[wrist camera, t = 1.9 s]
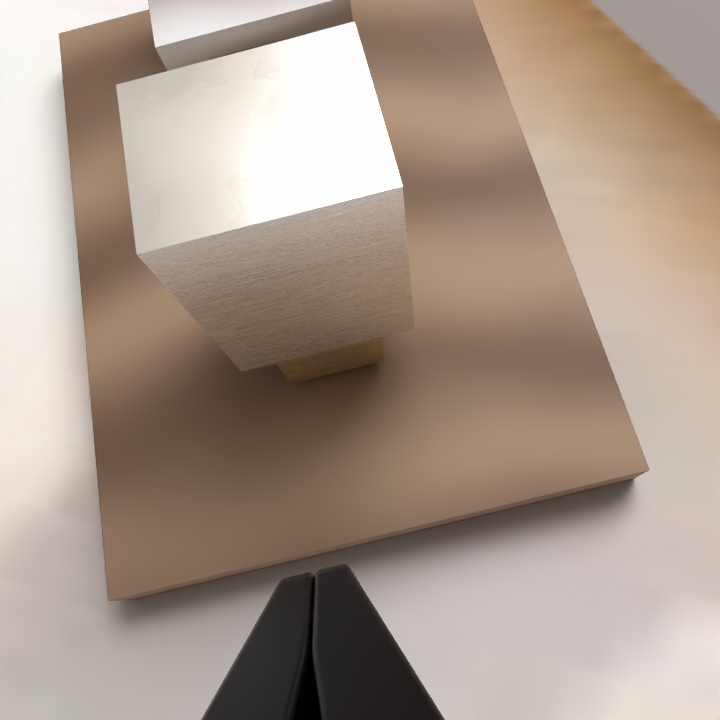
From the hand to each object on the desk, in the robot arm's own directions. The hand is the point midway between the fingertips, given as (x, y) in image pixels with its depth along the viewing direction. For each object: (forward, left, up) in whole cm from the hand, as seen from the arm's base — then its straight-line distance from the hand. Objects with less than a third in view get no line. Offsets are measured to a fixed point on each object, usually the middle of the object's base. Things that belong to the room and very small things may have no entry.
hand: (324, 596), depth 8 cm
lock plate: (+10, +9, -12) cm, 18 cm away
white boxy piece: (+9, +7, -11) cm, 15 cm away
